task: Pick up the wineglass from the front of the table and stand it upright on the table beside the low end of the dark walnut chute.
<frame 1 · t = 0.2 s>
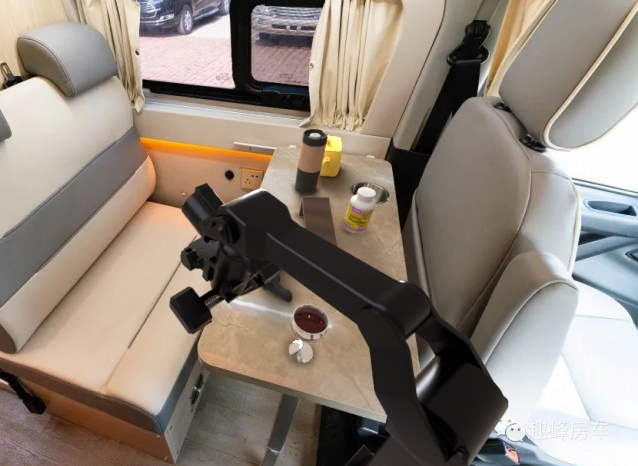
hand: (220, 307, 59), 15 cm above the table, tool pointing down, fingers open, 9 cm apart
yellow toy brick: (321, 168, 124), on the table
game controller: (275, 277, 84), on the table
travel mug: (305, 188, 114), on the table
supplement bottle: (354, 227, 99), on the table
chute: (317, 241, 94), on the table
wineglass: (300, 351, 69), on the table
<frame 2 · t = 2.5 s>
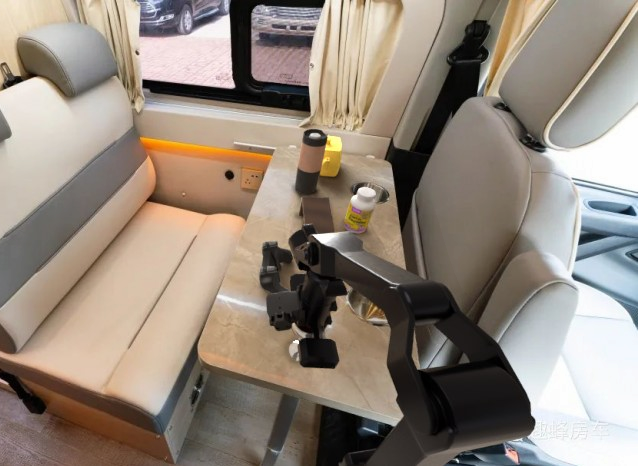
hand: (304, 340, 66), 4 cm above the table, tool pointing down
wineglass: (300, 351, 69), on the table, touching gripper
everything else where it was.
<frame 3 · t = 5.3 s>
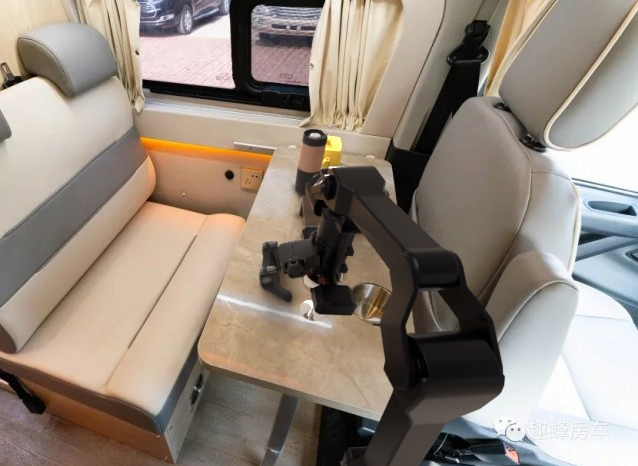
hand: (316, 295, 63), 13 cm above the table, tool pointing down, fingers closed on wineglass, 6 cm apart
wineglass: (312, 311, 67), point 8 cm above the table, touching gripper
everything else where it was.
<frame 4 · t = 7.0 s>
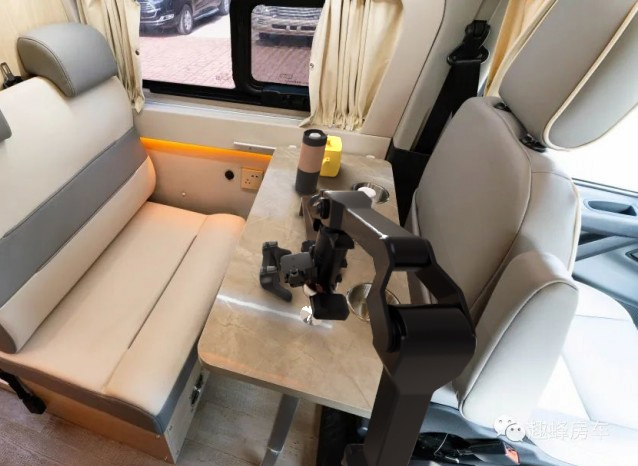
hand: (315, 302, 70), 7 cm above the table, tool pointing down, fingers closed on wineglass, 6 cm apart
wineglass: (311, 316, 74), point 1 cm above the table, touching gripper
everything else where it was.
when the fingers open (5 cm above the table, at t = 7.9 s): wineglass stays where it is, on the table.
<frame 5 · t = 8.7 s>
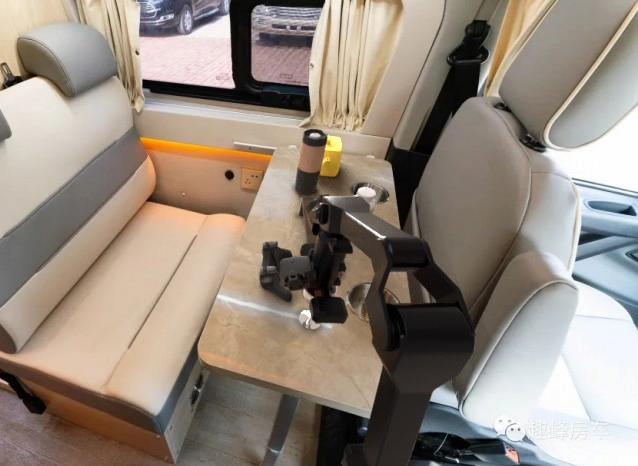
hand: (314, 304, 71), 5 cm above the table, tool pointing down, fingers open, 9 cm apart
wineglass: (310, 320, 75), on the table
everything else where it was.
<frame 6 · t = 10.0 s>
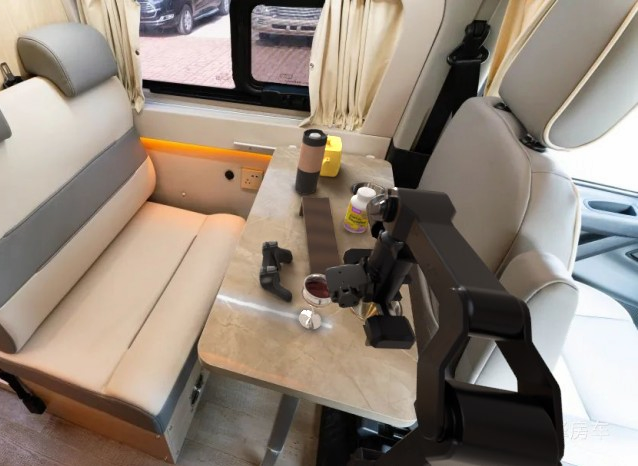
hand: (361, 322, 59), 13 cm above the table, tool pointing down, fingers open, 9 cm apart
nothing on the table moved.
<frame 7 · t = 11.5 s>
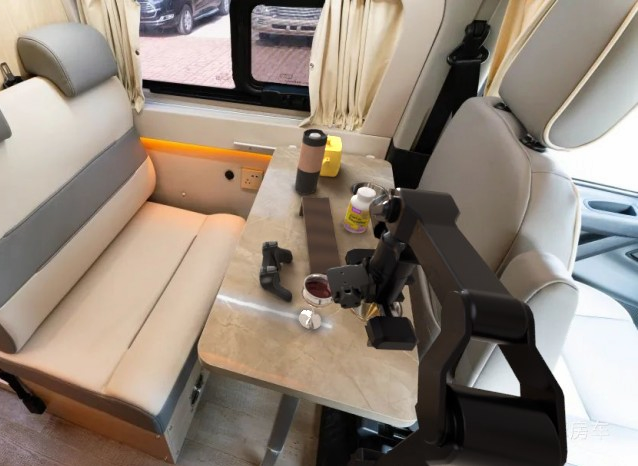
hand: (362, 322, 59), 13 cm above the table, tool pointing down, fingers open, 9 cm apart
nothing on the table moved.
at the end: wineglass inside the target area on the table beside the chute (0.1 cm from its centre), on the table; wineglass tilted 0° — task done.
